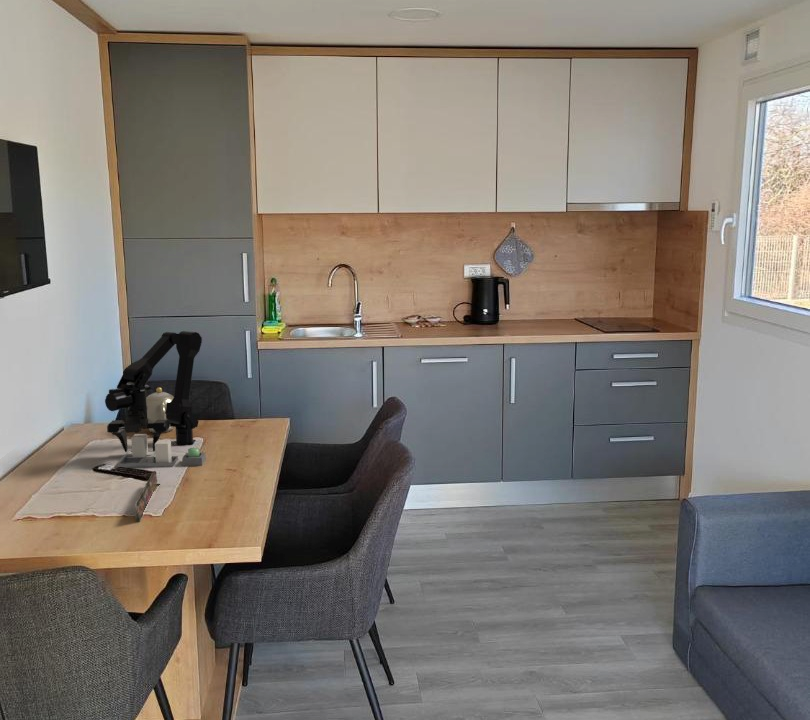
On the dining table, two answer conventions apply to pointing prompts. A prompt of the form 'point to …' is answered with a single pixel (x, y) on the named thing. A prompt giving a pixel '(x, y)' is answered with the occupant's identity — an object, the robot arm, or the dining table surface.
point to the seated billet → (163, 451)
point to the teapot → (158, 406)
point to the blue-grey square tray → (131, 451)
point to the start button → (193, 452)
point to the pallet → (145, 462)
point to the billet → (139, 445)
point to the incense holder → (145, 496)
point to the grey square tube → (194, 460)
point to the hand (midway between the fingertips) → (140, 451)
